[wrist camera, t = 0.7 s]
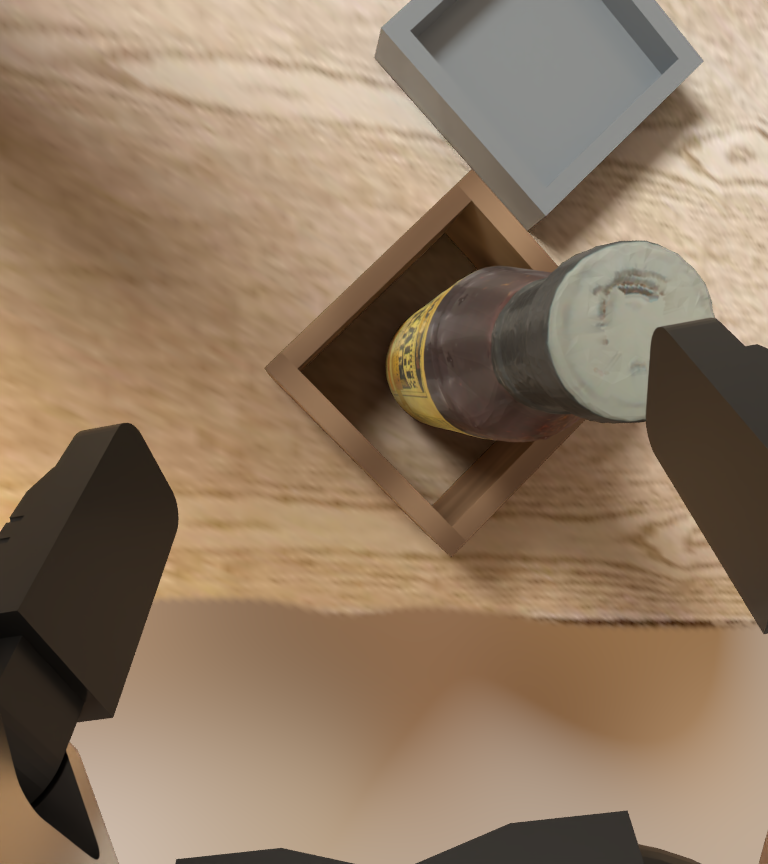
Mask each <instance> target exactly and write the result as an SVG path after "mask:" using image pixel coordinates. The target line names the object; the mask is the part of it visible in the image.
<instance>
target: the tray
mask: <svg viewBox="0 0 768 864" xmlns="http://www.w3.org/2000/svg"><path fill="white" fill-rule="evenodd" d="M375 59H376V60H377V61H378V62H379V63H380V64H381V66H382V67H383V68H384V69H385V70H386V71H387V72H388V74H389V75H390V76H391V77H392V78H393V79H394V80H395V81H396V83H397V84H398V85H399V86H400V87H401V88H402V89H403V91H404V92H405V93H406V94H407V95H408V96H409V97H410V98H411V100H412V101H413V102H414V103H415V104H416V105H417V106H418V108H419V109H420V110H421V111H422V112H423V113H424V114H425V115H426V117H427V118H428V119H429V120H430V121H431V122H432V123H433V125H434V126H435V127H436V128H437V129H438V130H439V131H440V132H441V134H442V135H443V136H444V137H445V138H446V139H447V140H448V142H449V143H450V144H451V145H452V146H453V147H454V148H455V149H456V151H457V152H458V153H459V154H460V155H461V156H462V157H463V159H464V160H465V161H466V162H467V163H468V164H469V165H470V166H471V168H472V169H473V170H474V171H475V172H476V173H477V174H478V176H479V177H480V178H481V179H482V180H483V181H484V182H485V184H486V185H487V186H488V187H489V188H490V189H491V190H492V191H493V193H494V194H495V195H496V196H497V197H498V198H499V199H500V201H501V202H502V203H503V204H504V205H505V206H506V207H507V208H508V210H509V211H510V212H511V213H512V214H513V215H514V216H515V218H516V219H517V220H518V221H519V222H520V223H521V224H522V225H523V227H524V228H525V229H526V230H527V231H528V230H529V229H530V228H531V227H533V226H534V225H535V224H536V223H538V222H539V221H540V220H542V219H543V218H544V217H545V216H546V215H547V214H549V213H550V212H551V211H552V210H553V209H554V208H555V207H556V206H557V205H558V204H559V203H560V202H561V201H562V200H563V199H564V198H565V197H566V196H567V195H568V194H569V193H570V192H571V191H572V190H573V189H574V188H575V187H576V186H577V185H578V184H579V183H580V182H581V181H582V180H583V179H584V178H585V177H586V176H587V175H588V174H589V173H590V172H591V171H592V170H593V169H594V168H595V167H596V166H597V165H598V164H599V163H600V162H602V161H603V160H604V159H605V158H606V157H607V156H608V155H609V154H610V153H611V152H612V151H613V150H614V149H615V148H616V147H617V146H618V145H619V144H620V143H621V142H622V141H623V140H624V139H625V138H626V137H627V136H628V135H629V134H630V133H631V132H632V131H633V130H634V129H635V128H636V127H637V126H638V125H639V124H640V123H641V122H642V121H643V120H644V119H645V118H646V117H647V116H648V115H649V114H650V113H651V112H652V111H653V110H655V109H656V108H657V107H658V106H659V105H660V104H661V103H662V102H663V101H664V100H665V99H666V98H667V97H668V96H669V95H670V94H671V93H672V92H673V91H674V90H675V89H676V88H677V87H678V86H679V85H680V84H681V83H682V82H683V81H684V80H685V79H686V78H687V77H688V76H689V75H690V74H691V73H692V72H693V71H694V70H695V69H696V68H697V67H698V66H699V65H700V64H701V63H702V62H703V60H702V58H701V57H700V56H699V55H698V53H697V52H696V51H695V50H694V48H693V47H692V46H691V45H690V43H689V42H688V41H687V40H686V38H685V37H684V36H683V35H682V33H681V32H680V31H679V30H678V28H677V27H676V26H675V25H674V23H673V22H672V21H671V20H670V18H669V17H668V16H667V15H666V13H665V12H664V11H663V10H662V8H661V7H660V6H659V5H658V3H657V2H656V1H655V0H411V1H410V2H409V3H408V4H407V5H406V6H404V7H403V8H402V9H401V10H400V11H399V12H398V13H397V14H396V15H395V16H394V17H392V18H391V19H390V20H389V21H388V22H387V23H386V24H385V25H384V26H383V27H381V31H380V35H379V40H378V44H377V49H376V53H375Z"/></svg>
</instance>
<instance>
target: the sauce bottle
mask: <svg viewBox="0 0 768 864" xmlns="http://www.w3.org/2000/svg"><path fill="white" fill-rule="evenodd" d="M705 318H715V316H714V314H713V309H712V301H711V298H710V295H709V292H708V289H707V287H706V284H705V283H704V281H703V280H702V279H701V277H700V276H699V275H698V273H697V272H696V271H695V269H694V268H693V267H692V266H691V265H689V264H688V263H687V262H686V261H685V260H684V259H683V258H682V257H681V256H680V255H679V254H677V253H675V252H672V251H670V250H668V249H666V248H664V247H662V246H660V245H658V244H655V243H651V242H648V241H619V242H614V243H610V244H606V245H601V246H596V247H594V248H593V249H590V250H588V251H585V252H582V253H579V254H577V255H574V256H573V257H571V258H570V259H568V260H566V261H565V262H563V263H562V264H561V265H560V266H559V267H558V268H557V269H555V270H554V271H553V272H544V271H537V270H530V269H523V268H516V267H508V266H492V267H486V268H483V269H480V270H477V271H475V272H473V273H471V274H469V275H468V276H466V277H464V278H463V279H461V280H459V281H457V282H456V283H455V284H454V285H453V286H451V287H450V288H449V289H448V290H446V291H444V292H442V293H441V294H440V295H438V296H437V297H436V298H435V299H433V300H432V301H430V302H429V303H428V304H427V305H425V306H424V307H423V308H421V309H420V310H418V311H417V312H416V313H414V314H413V315H412V316H410V317H409V318H408V319H407V320H406V321H405V322H404V323H403V324H402V325H401V326H400V327H399V329H398V330H397V332H396V333H395V335H394V337H393V338H392V340H391V342H390V345H389V348H388V352H387V356H386V379H387V381H388V384H389V387H390V390H391V392H392V395H393V396H394V398H395V400H396V401H397V403H398V404H399V405H400V406H401V407H402V408H403V409H404V410H405V411H406V412H407V413H408V414H409V415H410V416H412V417H413V418H415V419H416V420H418V421H420V422H422V423H425V424H427V425H430V426H433V427H438V428H442V429H447V430H451V431H456V432H459V433H463V434H466V435H470V436H474V437H478V438H482V439H491V440H494V441H495V440H498V441H506V442H528V441H530V442H532V441H537V440H547V439H549V438H550V437H551V436H554V435H556V434H558V433H559V432H561V431H563V430H565V429H567V428H569V427H570V426H572V425H573V424H574V423H575V422H577V421H578V420H579V419H581V418H585V419H587V420H590V421H597V422H600V423H636V422H645V421H646V402H647V388H648V374H649V360H650V346H651V339H652V335H653V332H654V331H655V329H656V328H657V327H661V326H666V325H672V324H677V323H683V322H688V321H694V320H699V319H705Z"/></svg>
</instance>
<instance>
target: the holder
mask: <svg viewBox="0 0 768 864" xmlns="http://www.w3.org/2000/svg"><path fill="white" fill-rule="evenodd" d="M444 233H446V235H447V236H448V237H449V238H450V239H451V240H452V241H453V242H454V243H455V244H456V246H457V247H458V248H459V249H460V250H461V251H462V252H463V253H464V254H465V256H466V257H467V258H468V259H469V260H470V261H471V262H472V263H473V264H474V265H475V267H476V268H477V269H478V270H480V269H483V268H486V267H492V266H508V267H516V268H523V269H530V270H537V271H544V272H553V271H554V270H555V269H557V268H558V266H557V265H556V263H555V262H554V261H553V260H552V259H551V258H550V257H549V255H548V254H547V253H546V252H545V251H544V250H543V249H542V248H541V246H540V245H539V244H538V243H537V242H536V241H535V240H534V238H533V237H532V236H531V235H530V234H529V233H528V232H527V231H526V229H525V228H524V227H523V226H522V225H521V224H520V223H519V221H518V220H517V219H516V218H515V217H514V216H513V215H512V214H511V212H510V211H509V210H508V209H507V208H506V207H505V206H504V204H503V203H502V202H501V201H500V200H499V199H498V198H497V197H496V195H495V194H494V193H493V192H492V191H491V190H490V189H489V187H488V186H487V185H486V184H485V183H484V182H483V181H482V180H481V178H480V177H479V176H478V175H477V174H476V173H475V172H474V170H473V169H472V170H471V171H470V172H468V173H467V174H466V175H465V176H464V177H463V178H462V179H461V180H460V181H459V182H458V183H457V184H456V185H455V186H454V187H453V188H452V189H451V190H450V191H449V192H448V193H447V194H445V195H444V196H443V197H442V198H441V199H440V200H439V201H438V202H437V203H436V204H435V205H434V206H433V207H432V208H431V209H430V210H429V211H428V212H427V213H426V214H425V215H424V216H423V217H421V218H420V219H419V220H418V221H417V222H416V223H415V224H414V225H413V226H412V227H411V228H410V229H409V230H408V231H407V232H406V233H405V234H404V235H403V236H402V237H401V238H400V239H399V240H397V241H396V242H395V243H394V244H393V245H392V246H391V247H390V248H389V249H388V250H387V251H386V252H385V253H384V254H383V255H382V256H381V257H380V258H379V259H378V260H377V261H376V262H375V263H373V264H372V265H371V266H370V267H369V268H368V269H367V270H366V271H365V272H364V273H363V274H362V275H361V276H360V277H359V278H358V279H357V280H356V281H355V282H354V283H353V284H352V285H351V286H349V287H348V288H347V289H346V290H345V291H344V292H343V293H342V294H341V295H340V296H339V297H338V298H337V299H336V300H335V301H334V302H333V303H332V304H331V305H330V306H329V307H328V308H326V309H325V310H324V311H323V312H322V313H321V314H320V315H319V316H318V317H317V318H316V319H315V320H314V321H313V322H312V323H311V324H310V325H309V326H308V327H307V328H306V329H305V330H304V331H302V332H301V333H300V334H299V335H298V336H297V337H296V338H295V339H294V340H293V341H292V342H291V343H290V344H289V345H288V346H287V347H286V348H285V349H284V350H283V351H282V352H281V353H280V354H278V355H277V356H276V357H275V358H274V359H273V360H272V361H271V362H270V363H269V364H268V365H267V366H266V367H265V369H266V371H267V373H268V374H269V375H270V376H271V377H272V378H273V379H274V380H275V381H276V382H277V383H278V385H279V386H280V387H281V388H282V389H283V390H284V391H285V392H286V393H287V394H288V395H289V396H290V397H291V398H292V399H293V400H294V401H295V402H296V403H297V404H298V405H299V406H300V407H301V408H302V409H303V410H304V411H305V412H306V413H307V414H308V415H309V416H310V417H311V418H312V419H313V420H314V421H315V422H316V423H317V424H318V425H319V426H320V427H321V428H322V429H323V430H324V431H325V432H326V433H327V434H328V435H329V436H330V437H331V438H332V439H333V440H334V441H335V442H336V443H337V444H338V445H339V446H340V447H341V448H342V449H343V450H344V451H345V452H346V453H347V454H348V455H349V456H350V457H351V458H352V459H353V460H354V461H355V462H356V463H357V464H358V465H359V466H360V467H361V468H362V469H363V470H364V472H365V473H366V474H367V475H368V476H369V477H370V478H371V479H372V480H373V481H374V482H375V483H376V484H377V485H378V486H379V487H380V488H381V489H382V490H383V491H384V492H385V493H386V494H387V495H388V496H389V497H390V498H391V499H392V500H393V501H394V502H395V503H396V504H397V505H398V506H399V507H400V508H401V509H402V510H403V511H404V512H405V513H406V514H407V515H408V516H409V517H410V518H411V519H412V520H413V521H414V522H415V523H416V524H417V525H418V526H419V527H420V528H421V529H422V530H423V531H424V532H425V533H426V534H427V535H428V536H429V537H430V538H431V539H432V540H433V541H434V542H435V543H436V544H438V545H439V546H440V547H441V548H442V549H443V550H444V551H445V552H446V553H447V554H449V555H450V556H451V557H452V556H453V555H454V554H455V553H456V552H457V551H458V550H459V549H460V548H461V547H462V546H463V545H464V544H465V543H466V542H467V541H468V540H469V539H470V538H471V537H472V536H473V534H474V533H475V532H476V531H477V530H478V529H479V528H480V527H481V526H482V525H483V524H484V523H485V522H486V521H487V520H488V519H489V518H490V517H491V516H492V515H493V514H494V513H495V512H496V511H497V510H498V509H499V508H500V507H501V506H502V505H503V504H504V503H505V502H506V501H507V499H508V498H509V497H510V496H511V495H512V494H513V493H514V492H515V491H516V490H517V489H518V488H519V487H520V486H521V485H522V484H523V483H524V482H525V481H526V480H527V479H528V478H529V477H530V476H531V475H532V474H533V473H534V472H535V471H536V470H537V469H538V468H539V467H540V466H541V464H542V463H543V462H544V461H545V460H546V459H547V458H548V457H549V456H550V455H551V454H552V453H553V452H554V451H555V450H556V449H557V448H558V447H559V446H560V445H561V444H562V443H563V442H564V441H565V440H566V439H567V438H568V437H569V436H570V435H571V434H572V433H573V432H574V431H575V429H576V428H577V427H578V426H579V425H580V424H581V423H582V422H583V421H584V420H585V418H581V419H579V420H578V421H577V422H575V423H574V424H573V425H572V426H570V427H569V428H567V429H565V430H563V431H561V432H559V433H558V434H556V435H554V436H551V437H550V438H549V439H547V440H537V441H532V442H530V441H528V442H506V441H498V440H496V441H495V442H494V443H493V444H492V445H491V447H490V448H489V449H488V450H487V451H486V452H485V453H484V454H483V455H482V456H481V457H480V458H479V459H478V460H477V461H476V462H475V463H474V464H473V465H472V466H471V467H470V468H469V469H468V470H467V471H466V472H465V473H464V474H463V475H462V476H461V477H460V478H459V479H458V480H457V481H456V482H455V483H454V484H453V485H452V486H451V487H450V488H449V489H448V490H447V491H446V492H445V493H444V494H443V495H442V496H441V497H440V498H439V499H438V500H437V501H436V502H435V503H434V504H433V505H432V506H431V505H430V504H429V503H428V502H427V501H426V500H425V499H424V498H423V497H422V495H421V494H420V493H419V492H418V491H417V490H416V489H415V488H414V487H413V486H412V485H411V484H410V483H409V482H408V481H407V480H406V479H405V478H404V477H403V476H402V475H401V474H400V473H399V472H398V471H397V470H396V469H395V468H394V467H393V466H392V465H391V464H390V463H389V462H388V461H387V460H386V459H385V458H384V457H383V456H382V455H381V454H380V453H379V452H378V451H377V450H376V449H375V447H374V446H373V445H372V444H371V443H370V442H369V441H368V440H367V439H366V438H365V437H364V436H363V435H362V434H361V433H360V432H359V431H358V430H357V429H356V428H355V427H354V426H353V425H352V424H351V423H350V422H349V421H348V420H347V419H346V418H345V417H344V416H343V415H342V414H341V413H340V412H339V411H338V410H337V409H336V408H335V407H334V406H333V405H332V404H331V403H330V402H329V400H328V399H327V398H326V397H325V396H324V395H323V394H322V393H321V392H320V391H319V390H318V389H317V388H316V387H315V386H314V385H313V384H312V383H311V382H310V381H309V380H308V379H307V378H306V377H305V376H304V375H303V374H302V373H301V371H302V370H303V369H304V368H305V367H306V366H307V365H308V364H309V363H311V362H312V361H313V360H314V359H315V358H316V357H317V356H318V355H319V354H320V353H321V352H322V351H323V350H324V349H325V348H326V347H327V346H328V345H329V344H330V343H331V342H332V341H333V340H334V339H335V338H336V337H337V336H338V335H340V334H341V333H342V332H343V331H344V330H345V329H346V328H347V327H348V326H349V325H350V324H351V323H352V322H353V321H354V320H355V319H356V318H357V317H358V316H359V315H360V314H361V313H362V312H363V311H364V310H365V309H366V308H368V307H369V306H370V305H371V304H372V303H373V302H374V301H375V300H376V299H377V298H378V297H379V296H380V295H381V294H382V293H383V292H384V291H385V290H386V289H387V288H388V287H389V286H390V285H391V284H392V283H393V282H394V281H395V280H397V279H398V278H399V277H400V276H401V275H402V274H403V273H404V272H405V271H406V270H407V269H408V268H409V267H410V266H411V265H412V264H413V263H414V262H415V261H416V260H417V259H418V258H419V257H420V256H421V255H422V254H423V253H424V252H426V251H427V250H428V249H429V248H430V247H431V246H432V245H433V244H434V243H435V242H436V241H437V240H438V239H439V238H440V237H441V236H442V235H443V234H444Z"/></svg>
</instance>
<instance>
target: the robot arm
mask: <svg viewBox="0 0 768 864" xmlns="http://www.w3.org/2000/svg"><path fill="white" fill-rule="evenodd" d="M646 427H647V433H648V438H649V441H650V444H651V447H652V450H653V452H654V454H655V456H656V457H657V459H658V461H659V462H660V464H661V466H662V467H663V469H664V470H665V472H666V474H667V475H668V477H669V479H670V480H671V482H672V484H673V485H674V487H675V489H676V490H677V492H678V494H679V495H680V497H681V499H682V500H683V502H684V503H685V505H686V507H687V508H688V510H689V512H690V513H691V515H692V517H693V518H694V520H695V522H696V523H697V525H698V527H699V528H700V530H701V532H702V533H703V535H704V536H705V538H706V540H707V541H708V543H709V545H710V546H711V548H712V550H713V551H714V553H715V555H716V556H717V558H718V560H719V561H720V563H721V564H722V566H723V568H724V569H725V571H726V573H727V574H728V576H729V578H730V579H731V581H732V583H733V584H734V586H735V588H736V589H737V591H738V593H739V594H740V596H741V597H742V599H743V601H744V602H745V604H746V606H747V607H748V609H749V611H750V612H751V614H752V616H753V617H754V619H755V621H756V622H757V624H758V625H759V627H760V629H761V630H762V632H763V634H767V633H768V349H767V348H765V347H763V346H760V345H758V344H756V345H751V346H744V345H743V344H742V343H741V342H740V341H739V340H738V339H737V338H736V337H735V336H734V335H733V334H732V333H731V332H730V331H729V330H728V329H727V328H726V327H725V326H724V325H723V324H722V323H721V322H720V321H718V320H717V319H715V318H705V319H699V320H694V321H688V322H683V323H677V324H672V325H666V326H661V327H657V328H656V329H655V331H654V332H653V335H652V339H651V346H650V360H649V374H648V388H647V402H646ZM177 528H178V508H177V503H176V499H175V496H174V494H173V492H172V490H171V488H170V486H169V484H168V482H167V481H166V479H165V477H164V475H163V473H162V472H161V470H160V468H159V466H158V464H157V462H156V461H155V459H154V457H153V455H152V453H151V451H150V450H149V448H148V446H147V444H146V442H145V440H144V439H143V437H142V435H141V433H140V432H139V430H138V429H137V428H136V427H135V426H134V425H132V424H130V423H122V424H116V425H111V426H105V427H100V428H94V429H89V430H83V431H80V432H78V433H77V434H76V435H75V437H74V438H73V440H72V441H71V443H70V444H69V446H68V447H67V449H66V451H65V452H64V454H63V455H62V457H61V458H60V460H59V462H58V463H57V465H56V466H55V467H54V468H52V469H51V470H50V471H49V472H48V473H47V474H46V475H45V476H44V477H43V478H41V479H40V480H39V481H38V482H37V483H36V484H35V485H34V486H33V487H32V488H30V489H29V490H28V491H27V492H26V494H25V495H24V497H23V498H22V500H21V501H20V503H19V504H18V506H17V507H16V509H15V510H14V512H13V513H12V515H11V516H10V522H9V523H6V524H5V526H4V527H3V529H2V530H1V532H0V864H119V862H118V859H117V857H116V854H115V851H114V848H113V846H112V843H111V840H110V837H109V835H108V832H107V829H106V826H105V823H104V821H103V818H102V815H101V812H100V809H99V807H98V804H97V801H96V798H95V795H94V793H93V790H92V787H91V785H90V782H89V779H88V776H87V773H86V770H85V768H84V765H83V762H82V759H81V757H80V754H79V752H78V750H77V749H76V748H75V747H74V746H73V745H72V744H71V743H70V742H69V741H70V739H71V736H72V733H73V731H74V728H75V726H76V723H77V722H84V721H91V720H99V719H106V718H113V716H114V713H115V711H116V708H117V705H118V702H119V698H120V696H121V693H122V690H123V687H124V684H125V681H126V678H127V675H128V672H129V670H130V667H131V664H132V661H133V658H134V655H135V652H136V649H137V646H138V643H139V640H140V637H141V634H142V631H143V628H144V626H145V623H146V620H147V617H148V614H149V611H150V608H151V605H152V602H153V599H154V596H155V593H156V590H157V588H158V585H159V582H160V579H161V576H162V573H163V570H164V567H165V564H166V561H167V558H168V555H169V552H170V549H171V547H172V544H173V541H174V538H175V535H176V532H177ZM176 864H353V863H348V862H343V861H339V860H334V859H330V858H325V857H320V856H316V855H311V854H306V853H302V852H297V851H293V850H288V849H283V848H277V849H268V850H258V851H249V852H241V853H231V854H221V855H212V856H203V857H194V858H184V859H177V860H176ZM416 864H700V863H698V862H696V861H694V860H692V859H689V858H686V857H683V856H680V855H677V854H674V853H670V852H668V851H665V850H661V849H658V848H654V847H649V846H644V845H639V844H638V843H637V840H636V837H635V834H634V830H633V827H632V824H631V820H630V818H629V814H628V811H620V812H611V813H603V814H593V815H583V816H574V817H564V818H555V819H546V820H537V821H528V822H518V823H510V824H508V825H505V826H503V827H501V828H498V829H496V830H494V831H491V832H489V833H487V834H484V835H482V836H480V837H477V838H475V839H473V840H470V841H468V842H466V843H463V844H461V845H458V846H456V847H454V848H451V849H449V850H447V851H444V852H442V853H440V854H437V855H435V856H433V857H430V858H428V859H426V860H423V861H421V862H419V863H416ZM759 864H768V832H767V836H766V839H765V842H764V846H763V850H762V853H761V857H760V861H759Z"/></svg>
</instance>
